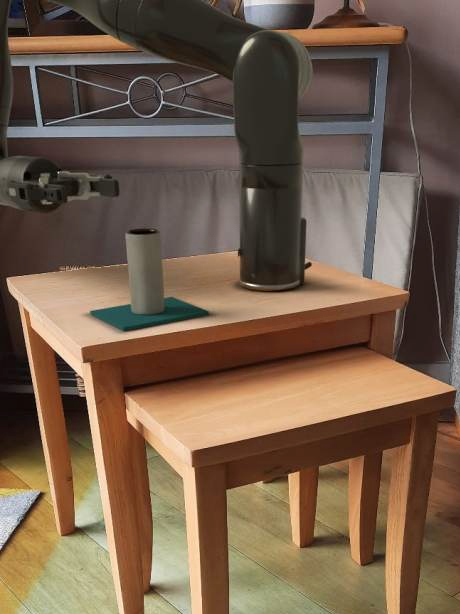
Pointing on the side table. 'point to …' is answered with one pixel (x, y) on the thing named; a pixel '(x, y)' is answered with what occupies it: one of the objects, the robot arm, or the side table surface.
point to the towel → (129, 320)
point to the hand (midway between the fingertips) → (91, 191)
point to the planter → (145, 271)
